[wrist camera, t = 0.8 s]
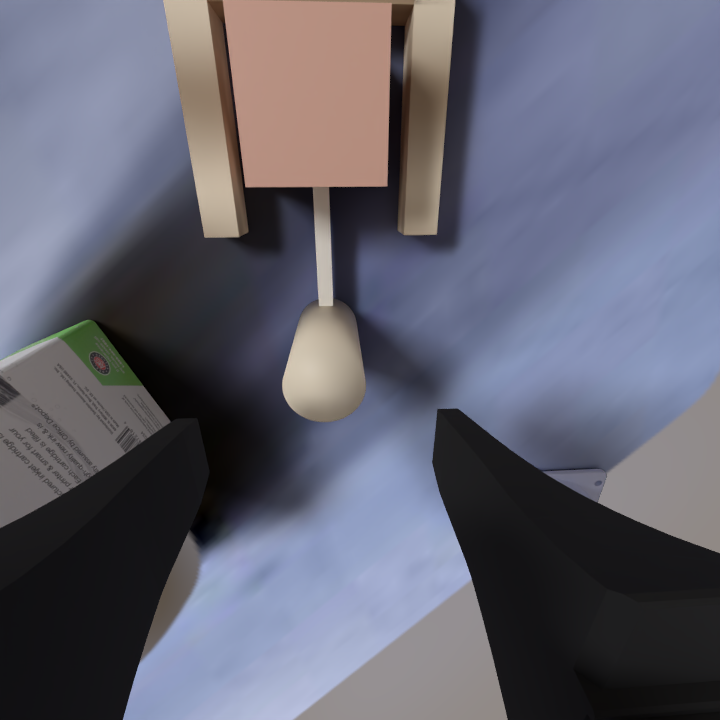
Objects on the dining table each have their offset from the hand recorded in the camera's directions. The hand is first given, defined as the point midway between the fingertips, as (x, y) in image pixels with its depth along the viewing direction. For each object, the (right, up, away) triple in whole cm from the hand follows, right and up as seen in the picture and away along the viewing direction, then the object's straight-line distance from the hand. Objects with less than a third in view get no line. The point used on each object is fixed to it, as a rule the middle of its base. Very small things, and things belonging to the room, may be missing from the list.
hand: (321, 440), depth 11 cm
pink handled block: (-1, +9, +7) cm, 12 cm away
